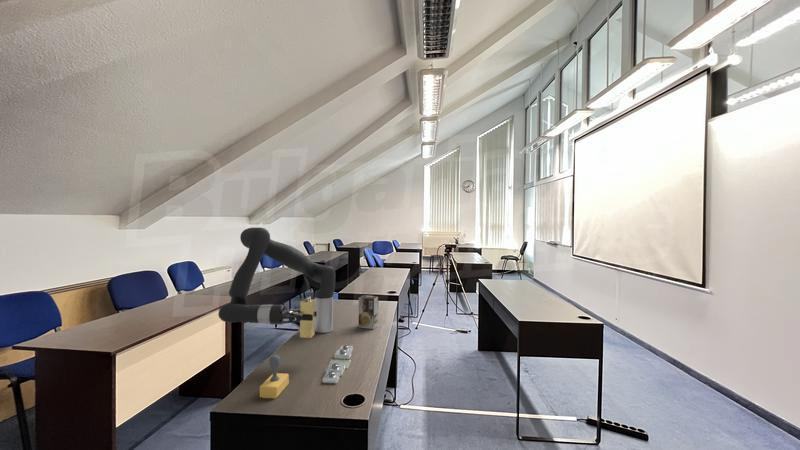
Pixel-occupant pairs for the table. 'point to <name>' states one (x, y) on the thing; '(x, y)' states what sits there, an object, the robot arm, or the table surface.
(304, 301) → the tall studded toy brick
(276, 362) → the yellow handled block
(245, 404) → the table surface
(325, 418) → the table surface
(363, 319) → the coffee box
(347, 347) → the studded plate chain
